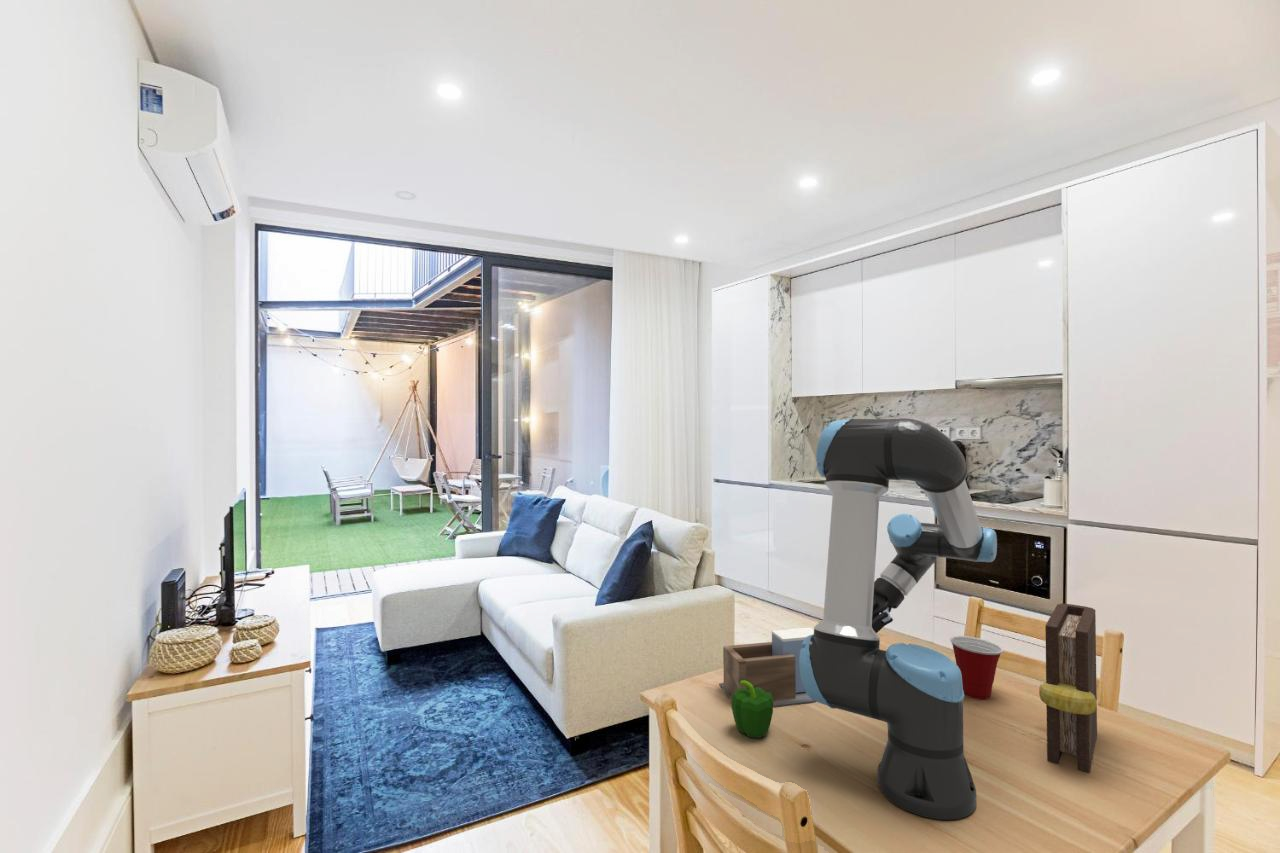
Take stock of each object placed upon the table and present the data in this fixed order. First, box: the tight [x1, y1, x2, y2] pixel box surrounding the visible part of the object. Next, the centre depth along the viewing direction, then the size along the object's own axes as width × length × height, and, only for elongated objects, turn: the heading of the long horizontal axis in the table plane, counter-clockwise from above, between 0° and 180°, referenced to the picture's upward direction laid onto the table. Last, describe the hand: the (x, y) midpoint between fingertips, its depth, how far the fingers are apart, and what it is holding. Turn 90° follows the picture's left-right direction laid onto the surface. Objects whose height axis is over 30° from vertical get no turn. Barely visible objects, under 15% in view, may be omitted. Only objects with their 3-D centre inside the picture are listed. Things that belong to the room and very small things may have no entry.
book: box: [1038, 603, 1098, 774], centre depth 116 cm, size 22×8×25 cm, turn 139°
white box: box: [771, 627, 814, 693], centre depth 143 cm, size 6×10×13 cm, turn 103°
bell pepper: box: [731, 680, 774, 739], centre depth 123 cm, size 8×8×10 cm
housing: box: [718, 641, 817, 708], centre depth 141 cm, size 14×18×10 cm
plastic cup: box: [949, 635, 1004, 700], centre depth 140 cm, size 11×11×12 cm
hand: (831, 660), depth 145 cm, fingers closed
